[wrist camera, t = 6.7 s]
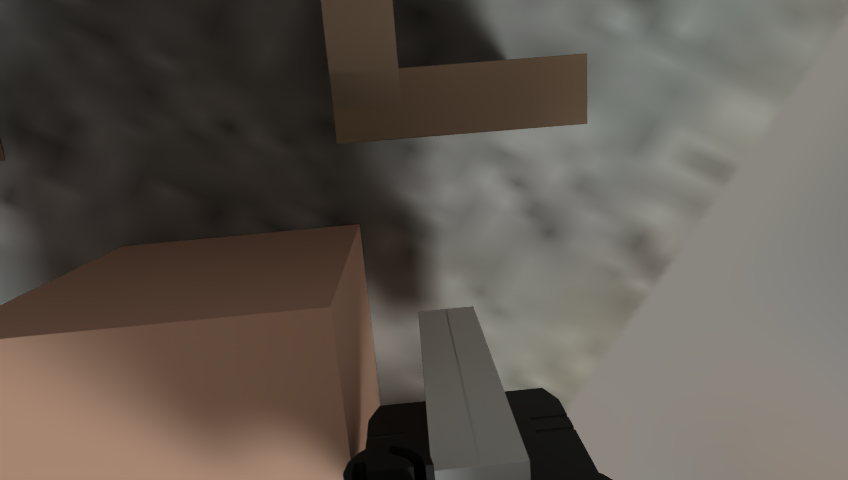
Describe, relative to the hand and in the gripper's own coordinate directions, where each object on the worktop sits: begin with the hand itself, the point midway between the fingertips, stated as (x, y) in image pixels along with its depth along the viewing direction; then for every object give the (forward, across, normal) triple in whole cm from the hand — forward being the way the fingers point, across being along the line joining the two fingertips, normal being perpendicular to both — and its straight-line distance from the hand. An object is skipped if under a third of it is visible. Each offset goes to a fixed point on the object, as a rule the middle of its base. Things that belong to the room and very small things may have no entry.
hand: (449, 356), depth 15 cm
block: (+2, -6, 0) cm, 6 cm away
